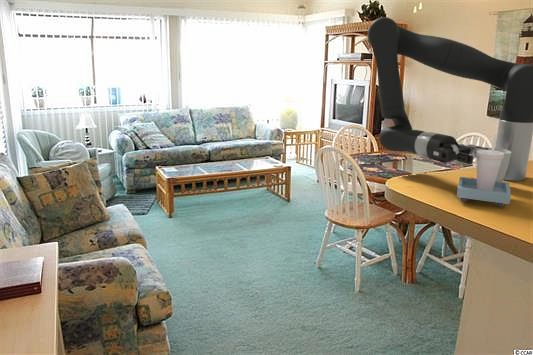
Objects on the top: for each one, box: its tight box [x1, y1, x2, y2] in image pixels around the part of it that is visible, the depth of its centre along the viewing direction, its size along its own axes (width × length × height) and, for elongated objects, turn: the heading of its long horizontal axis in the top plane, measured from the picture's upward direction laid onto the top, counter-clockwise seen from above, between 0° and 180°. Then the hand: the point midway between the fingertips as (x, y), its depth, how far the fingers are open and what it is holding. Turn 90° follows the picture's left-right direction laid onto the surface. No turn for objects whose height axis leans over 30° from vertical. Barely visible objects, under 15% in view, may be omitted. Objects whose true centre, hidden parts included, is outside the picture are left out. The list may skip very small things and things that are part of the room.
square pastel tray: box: [456, 176, 512, 208], centre depth 112 cm, size 12×12×4 cm
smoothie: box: [475, 134, 504, 191], centre depth 111 cm, size 6×6×14 cm
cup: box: [488, 147, 511, 182], centre depth 126 cm, size 8×8×10 cm
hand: (484, 158), depth 111 cm, fingers open, 8 cm apart
